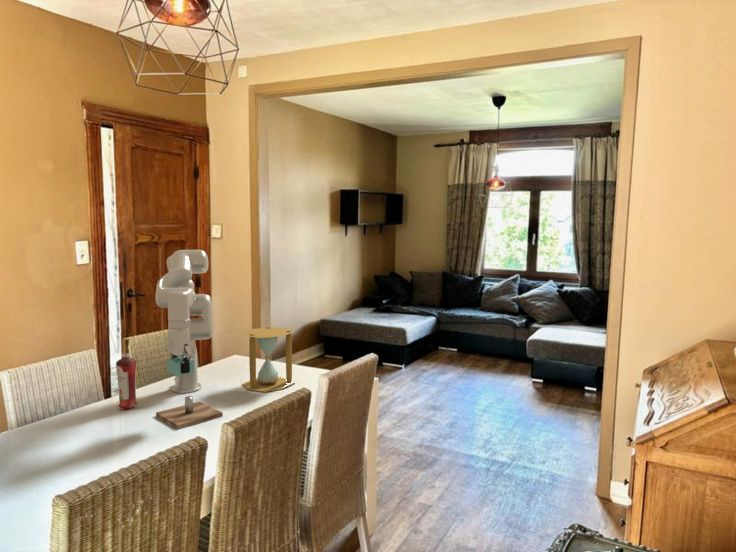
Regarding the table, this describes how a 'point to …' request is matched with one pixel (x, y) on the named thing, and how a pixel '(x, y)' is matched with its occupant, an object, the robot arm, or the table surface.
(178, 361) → the teal collar
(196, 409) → the walnut board
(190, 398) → the steel post
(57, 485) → the table surface
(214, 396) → the table surface
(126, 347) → the liquor
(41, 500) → the table surface
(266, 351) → the hourglass
